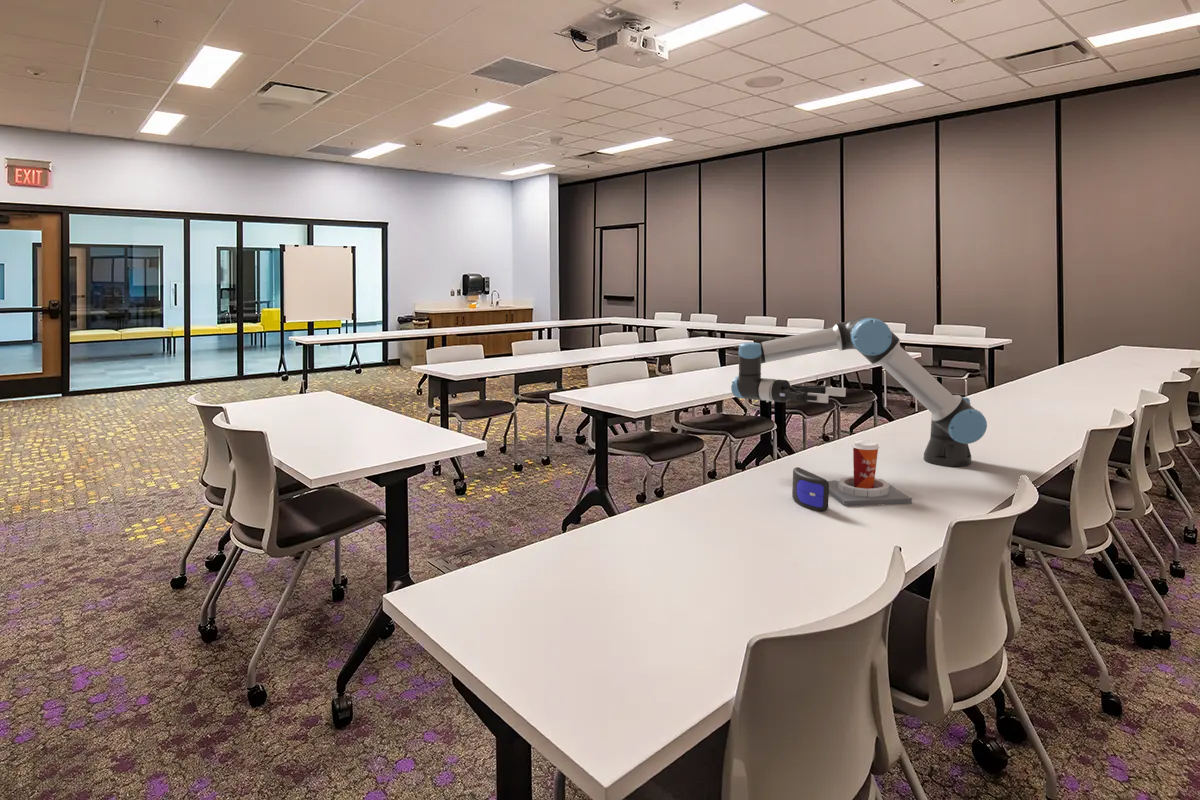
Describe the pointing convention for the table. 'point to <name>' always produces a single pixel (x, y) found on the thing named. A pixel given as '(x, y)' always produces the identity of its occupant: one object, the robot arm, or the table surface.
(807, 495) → the leaning round-cornered charcoal block
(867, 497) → the collar board
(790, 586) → the table surface
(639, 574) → the table surface
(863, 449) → the paper cup
